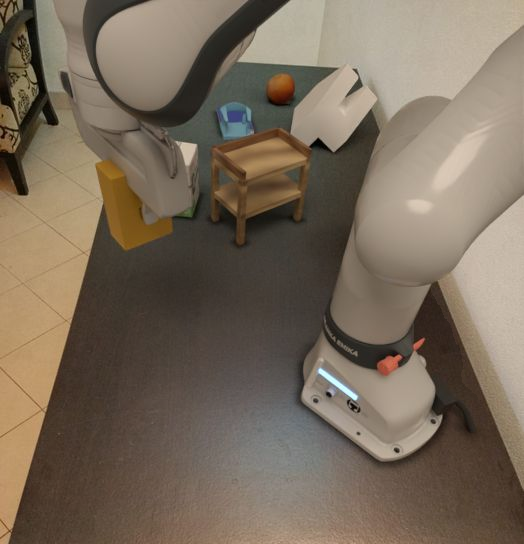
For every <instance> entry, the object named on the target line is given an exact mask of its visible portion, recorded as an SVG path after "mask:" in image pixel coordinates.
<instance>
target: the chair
mask: <svg viewBox="0 0 524 544" xmlns="http://www.w3.org/2000/svg"><path fill="white" fill-rule="evenodd" d="M220 107H221V108H220V111H221V114H222V118H223V120H222V122H220V123H219V128H220V132H221V136H222V142H223V143H225V142H228V141H232V140H235V139H238V138H242V137H245V136H248V135H252V134H251V132H250V129H249V127H250V124H251V122H252V109H251V108H249V107H248V106H247V105H245V104H243V103H240V102H236V101H234V102H228V103H226V104H224V105H222V106H220ZM230 111H239V112H243V113H244V114H243V118H242V122H237V123H228V118H227V112H230ZM246 113H247V120H248V123H247V122H246Z"/></svg>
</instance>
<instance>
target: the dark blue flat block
mask: <svg viewBox="0 0 524 544" xmlns="http://www.w3.org/2000/svg"><path fill="white" fill-rule="evenodd" d="M221 107H222V106H219V107H217V108H216V114H217V118H218V122H219V124H220V122H222V120H223V118H222V114H221V111H220V108H221ZM243 114H244V113H243V112H239V111H230V112H227V118H228V123H237V122H242V118H243ZM246 122H247V123H248V120H247V113H246ZM249 129H250V132H251V134H255V128H254V124H253V122H252V121H251V124H250V127H249Z"/></svg>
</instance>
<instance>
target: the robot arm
mask: <svg viewBox="0 0 524 544" xmlns="http://www.w3.org/2000/svg"><path fill="white" fill-rule="evenodd" d="M290 1H291V0H52V4H53V7H54V11H55V14H56V16H57V20H58V21H59V23H60V25H61V27H62V29H63V33H64V35H65V39H66V61H67V62H66V63H67V65H66V66H62V67H59V68H58V69H57V75H58V79H59V82H60V86H61V88H62V89H63V91H64V92H65V93H66V94H67V97H68V101H69V105H70V108H71V113H72V115H73V118H74V122H75V125H76V128H77V130H78V133H79V135H80V137H81V139H82V142H83V143H84V145H85V146H86V147H87V148H88V149H89V150H91V152H92V153H93V154H94V155H95V156H96V157H97V158H98V159H100V161H105V160H108V159H109V160H110V161H111V162H112V163H113V164H115V165H116V166H117V167H118V168H119V169H120V170H121V171H122V172H123V173H124V174H125V176H126V182H127V185H128V187H129V188H130V189H131V190H132V191H133V192H134V193H135V194H136V195H137V196H138V197H139V198H140V201H141V202H142V203H143V204H142V207H140V208H139V213H140V218H141V219H142V220H143V221H144V222H145V223H146V224H147V225H150V224H153V223H155V222H157V221H158V219H159V218H161V219H168V218H171V217H172V218H173V217H177V216H176V215H179V214H181V213H183V212H185V211H187V209H188V208H189V206H190V193H189V185H188V179H187V172H186V166H185V161H184V157H183V154H182V151H181V149H180V147H179V146H178V144H177V143H176V142H175V141H176V140H175V139H174V138H172V137H171V136H170V133H169V131H168V130H167V129H166V128H175V127H180V126H181V125H185V124H186V123H187V122H189V121H190V120H192V119H193V118H194V116H196V115H197V114H198V112H199V111H200V110H201V108H202V106H203V105H204V104H205V102H206V100H208V98H209V96H210V94H211V92H213V90H214V89H215V88H216V87H217V86H218V84H219V83H220V82H221V81H222V80H223V79H224V78H225V76H226V75H227V74H228V73H229V72H230V71H231V69H232V68H233V67H234V66H235V65H236V63H237V62H238V61H239V60H240V59H241V57H243V55H244V54H245V52H246V51H247V50H248V48H249V47H250V46H251V44H252V43H253V40H254V38H255V37H256V33H257V30H258V29H259V27H261V26H262V25H263V24H264V23H266V22H267V21H268V20H269V19H270V18H272V16H274V15H275V14H276V13H277V12H278V11H280V10H282V8H284V6H286V5H287V4H289V2H290ZM523 196H524V24H522V25H521V26H520V27H519V28H518V29H517V30H515V31H514V32H513V33H512V34H510V36H508V37H507V38H506V39H505V40H503V42H501V43H500V44H499V45H498V46H497V47H495V48H494V50H493V51H492V52H491V54H490V55H489V56H488V58H487V59H486V61H485V62H484V63H483V64H482V65H481V67H480V68H479V69H478V70H477V72H476V73H475V74H474V75H473V76H472V77H471V79H470V80H469V81H468V82H467V83H466V84H465V85H464V86H463V87H462V89H460V91H459V92H458V93H457V94H456V95H455V96H454V97H453V98H452V99H450V98H449V97H445V96H440V95H425V96H420V97H418V98H415V99H412V100H410V101H409V102H407V103H406V104H404V105H403V106H402V107H400V109H398V110H397V112H395V113H394V114H393V115H392V117H390V119H389V120H388V121H387V122H386V123H385V125H384V126H383V128H382V129H381V131H380V132H379V134H378V135H377V138H376V140H375V144H374V146H373V149H372V152H371V156H370V159H369V162H368V164H367V168H366V171H365V173H364V179H363V182H362V185H361V187H360V191H359V194H358V196H357V200H356V203H355V208H354V214H353V222H352V225H351V229H350V232H349V235H348V239H347V242H346V245H345V249H344V253H343V256H342V260H341V264H340V267H339V271H338V275H337V278H336V282H335V286H334V289H333V293H332V295H331V296H330V298H329V299H328V301H327V304H326V308H325V311H324V314H323V318H322V323H321V324H322V325H321V326H322V329H321V332H320V334H319V336H318V338H317V340H316V341H315V343H314V345H313V347H312V348H311V349H310V350H309V352H308V353H307V354H306V357H305V359H304V361H303V366H302V374H303V381H304V383H303V387H302V390H301V394H300V401H301V403H302V404H303V405H304V406H306V407H307V408H309V410H311V411H313V412H314V414H316V415H317V416H319V417H320V418H322V419H323V420H324V421H325V422H326V423H328V424H330V425H331V426H332V427H333V428H335V429H336V430H337V431H339V433H342V434H343V435H344V436H345V437H347V438H348V439H349V440H351V441H352V442H353V443H355V444H356V445H357V446H358V447H359V448H361V449H362V450H363V451H365V452H366V453H367V454H369V455H370V456H372V457H373V458H374V459H375V460H377V461H379V462H383V463H384V462H394V461H399V460H401V459H402V460H403V459H404V458H406V457H408V456H410V455H412V454H414V453H415V452H416V451H418V450H419V449H421V448H422V447H423V446H424V445H426V444H427V443H428V442H429V441H430V440H431V439H432V437H434V435H435V434H436V432H437V431H438V429H439V427H440V425H441V423H442V421H443V415H444V414H447V413H450V412H451V411H452V409H453V408H454V406H456V407H457V408H458V409H459V410H460V412H461V413H462V416H463V417H464V420H465V423H466V427H467V430H468V432H470V433H472V432H475V431H476V427H475V423H474V421H473V418H472V415H471V413H470V411H469V410H468V407H467V406H466V405H465V403H464V402H463V401H462V400H461V399H459V397H457V396H456V395H454V393H453V391H452V390H451V389H450V388H449V387H448V385H447V383H445V381H444V380H443V378H442V377H441V376H440V375H439V374H438V372H435V373H433V374H429V372H428V370H427V361H426V359H425V357H424V356H422V355H420V354H418V351H417V350H419V348H421V346H422V345H423V343H424V341H425V340H426V338H425V337H423V338H421V339H419V340H418V341H417V342H415V325H414V321H415V319H416V317H417V315H418V313H419V311H420V308H421V306H422V304H423V303H424V300H425V298H426V296H427V294H428V292H429V290H430V288H431V286H432V284H434V283H436V282H438V281H440V280H442V279H444V278H445V277H447V276H448V275H450V274H451V273H452V272H453V270H454V269H455V268H456V267H458V265H459V264H460V262H461V260H462V259H463V257H464V256H465V254H466V253H467V251H468V250H469V249H470V247H471V246H472V244H473V243H475V242H476V240H477V239H478V238H479V236H480V235H481V234H482V233H483V232H484V231H485V230H486V229H487V228H488V227H489V226H490V225H492V224H493V223H494V222H495V221H496V220H497V219H498V218H499V217H501V216H502V215H503V214H504V213H505V212H506V211H507V210H509V208H511V207H512V206H513V205H514V204H515V203H516V202H517V201H519V200H520V199H521V198H522V197H523ZM158 217H159V218H158ZM396 451H397V452H396Z"/></svg>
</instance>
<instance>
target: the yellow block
mask: <svg viewBox="0 0 524 544" xmlns="http://www.w3.org/2000/svg"><path fill="white" fill-rule="evenodd" d="M94 166H95V170H96V175H97V179H98V184H99V188H100V193H101V197H102V203H103V206H104V210H105V214H106V220H107V223H108V228H109V233H110V235H111V237H112V238H113V239H114V240H115V241H116V242H117V243H118V245H119V246H120V247H121V248H122V249H123V250H124V251H125V252H126V251H129V250H131V249H134V248H137V247H139V246H142V245H145V244H147V243H149V242H152V241H155V240H157V239H159V238H162V237H165V236H168V235H170V234H173V233H174V230H173V229H174V227H173V217H171V218H168V219H161V218H159V217H158V218H159V219H158V221H157V222H155V223H153V224H150V225H147V224H146V223H145V222H144V221H143V220H142V219H141V218H140V213H139V208H140V207H142V204H143V203H142V202H141V201H140V198H139V197H138V196H137V195H136V194H135V193H134V192H133V191H132V190H131V189H130V188H129V187H128V185H127V182H126V176H125V174H124V173H123V172H122V171H121V170H120V169H119V168H118V167H117V166H116V165H115V164H113V163H112V162H111V161H110V160H109V159H108V160H105V161H102V160H100V161H98V162H95V163H94Z"/></svg>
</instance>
